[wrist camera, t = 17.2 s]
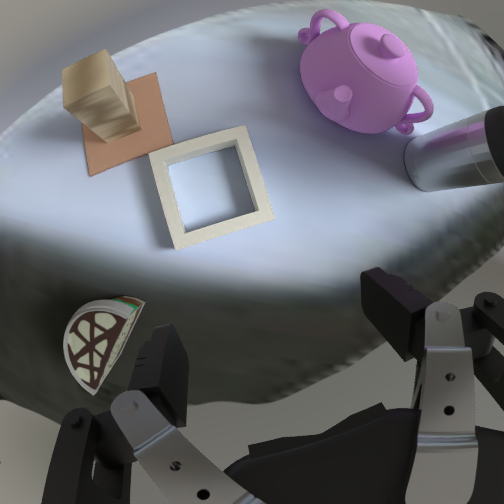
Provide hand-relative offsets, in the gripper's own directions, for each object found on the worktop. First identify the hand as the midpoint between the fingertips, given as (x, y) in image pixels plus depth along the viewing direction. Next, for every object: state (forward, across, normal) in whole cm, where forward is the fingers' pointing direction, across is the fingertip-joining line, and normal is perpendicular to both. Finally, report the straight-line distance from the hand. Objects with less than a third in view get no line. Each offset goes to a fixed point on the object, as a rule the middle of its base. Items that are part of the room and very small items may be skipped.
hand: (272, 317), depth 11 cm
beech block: (+28, +12, -15) cm, 34 cm away
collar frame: (+26, +2, -3) cm, 26 cm away
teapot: (+30, -20, -12) cm, 38 cm away
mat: (+29, +12, -15) cm, 34 cm away
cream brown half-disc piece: (+22, +19, +9) cm, 31 cm away
